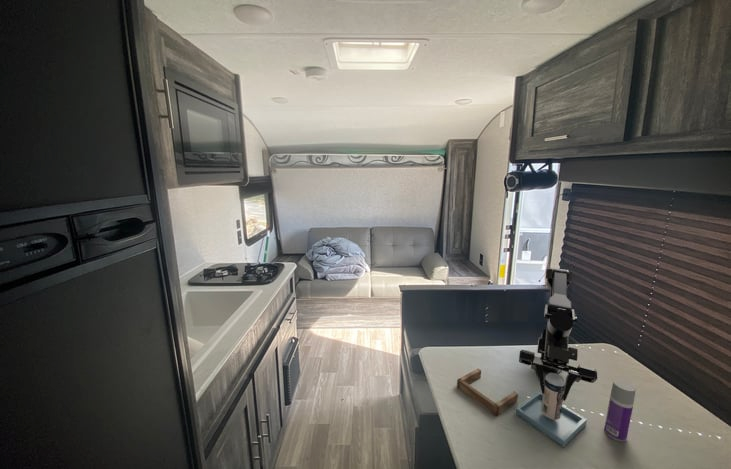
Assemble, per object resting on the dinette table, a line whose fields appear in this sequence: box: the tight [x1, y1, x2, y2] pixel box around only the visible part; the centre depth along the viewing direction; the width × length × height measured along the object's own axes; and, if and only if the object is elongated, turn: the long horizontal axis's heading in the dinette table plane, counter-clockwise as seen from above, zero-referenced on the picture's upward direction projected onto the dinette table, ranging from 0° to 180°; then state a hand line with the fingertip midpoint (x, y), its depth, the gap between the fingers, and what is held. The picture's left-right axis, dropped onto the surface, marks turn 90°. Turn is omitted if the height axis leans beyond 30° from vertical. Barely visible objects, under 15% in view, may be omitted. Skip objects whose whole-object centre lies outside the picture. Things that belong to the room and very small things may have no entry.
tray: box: [514, 390, 588, 448], centre depth 84 cm, size 13×13×2 cm
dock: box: [456, 368, 519, 417], centre depth 94 cm, size 11×14×3 cm
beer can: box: [541, 373, 566, 420], centre depth 83 cm, size 5×5×12 cm
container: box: [603, 379, 637, 442], centre depth 78 cm, size 5×5×15 cm
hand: (553, 396), depth 82 cm, fingers closed on beer can, 5 cm apart
